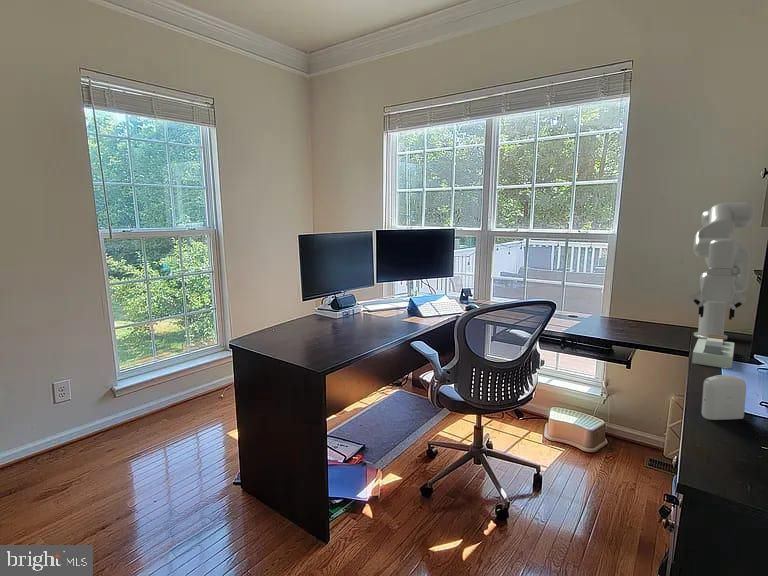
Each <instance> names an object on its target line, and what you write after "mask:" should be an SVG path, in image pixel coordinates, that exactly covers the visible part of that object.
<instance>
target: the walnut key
mask: <svg viewBox="0 0 768 576" xmlns="http://www.w3.org/2000/svg"><path fill="white" fill-rule="evenodd" d="M724 335H725V334H724ZM724 335H717V334H709V335H708V338H714V339H723V342H725V340H724Z"/></svg>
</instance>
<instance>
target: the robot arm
mask: <svg viewBox="0 0 768 576" xmlns="http://www.w3.org/2000/svg"><path fill="white" fill-rule="evenodd" d="M754 217H755V207H754V205H753V204H752V203H750V202H747V201H737V202H721V203H717V204H714V205H713V206H712V207H710V209H707V210H705V211H703V212H702V213H701V217H700V221H701V226H702V227H701V228H700V229H699V230H697V232H696V233H695V236H694V240H693V247H692V248H693V249H692V250H693V254H694V255H695V256H696V257H697V258H704V259H705V265H706V266H707V270H706V271H704V272H702V273H701V274H700V276H699V285H700V286H699V287H700V290H698V291H696V292H694V293H692V294H690V298H691V300H692V301H693V303H695V304H696V306H697V307H698V315H699V317H698V327H697V328H698V330H697V331H695V332H693V336H694V337H695V338H698V339H706V340H707V338H708V335H709V334H717V335H724V341H727V340H728V335H726V334H724V332H725V331H724V330H725V322H726V321H725V319H726V310H727V304H728V305H729V307H730V309H729V315H728V320H729V321H732V318H735V311H736V310H737V309H738V308H740V307H741V306H742V305H743V304H744V303H746V301H747V298H746V297H744V296H743V295H741V294H739V293H743V292H746V291H747V290H748V288H749V282H750V272H751V271H750V270H751V252H750V250H749V249H748V248H747V247H741V243H740V242H739V241H738V240H737V239H736V238H731V234H732V233H734V231H735V228H736V229H741V228H748V227H750V225H751V223H752V222H753V219H754ZM698 296H700V300H699V299H698V298H697V297H698ZM736 298H737V299H738V300H739V301H737V303H734V301H735V300H736Z"/></svg>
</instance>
